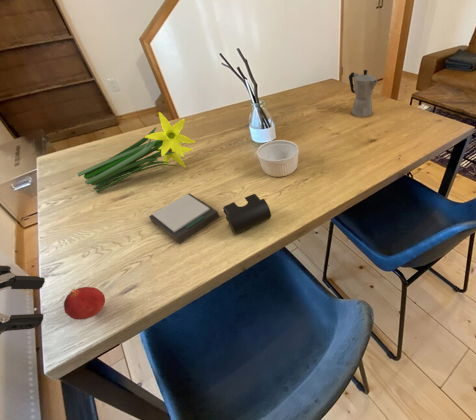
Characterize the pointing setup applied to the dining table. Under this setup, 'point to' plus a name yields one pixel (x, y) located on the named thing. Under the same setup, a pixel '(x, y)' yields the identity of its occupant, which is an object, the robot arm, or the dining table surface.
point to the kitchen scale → (184, 217)
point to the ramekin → (278, 157)
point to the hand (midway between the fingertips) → (42, 300)
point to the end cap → (247, 213)
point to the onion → (84, 302)
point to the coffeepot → (362, 93)
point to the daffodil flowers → (140, 155)
